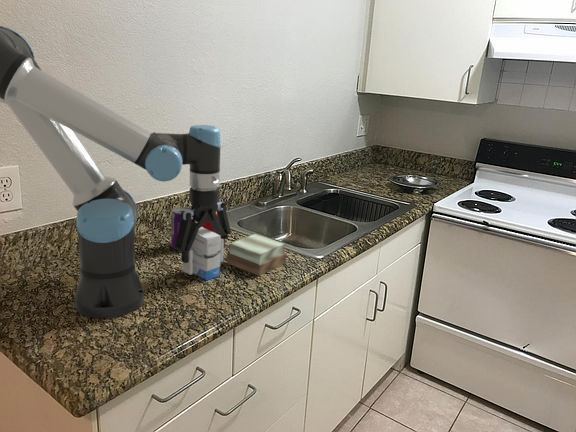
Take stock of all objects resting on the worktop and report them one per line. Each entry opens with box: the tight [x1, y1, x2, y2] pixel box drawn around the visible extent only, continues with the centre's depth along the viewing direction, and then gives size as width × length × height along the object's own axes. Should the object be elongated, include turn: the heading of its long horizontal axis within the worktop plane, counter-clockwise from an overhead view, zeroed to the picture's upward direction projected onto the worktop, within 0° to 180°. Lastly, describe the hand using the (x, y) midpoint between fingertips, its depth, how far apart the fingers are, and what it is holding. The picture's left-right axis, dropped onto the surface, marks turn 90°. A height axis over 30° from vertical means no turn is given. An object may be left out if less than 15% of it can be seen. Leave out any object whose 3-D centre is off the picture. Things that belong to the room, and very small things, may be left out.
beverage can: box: [170, 206, 191, 252], centre depth 144 cm, size 7×7×12 cm
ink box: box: [190, 227, 221, 281], centre depth 129 cm, size 8×5×12 cm, turn 47°
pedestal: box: [226, 233, 287, 277], centre depth 138 cm, size 12×12×6 cm
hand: (203, 266), depth 130 cm, fingers open, 11 cm apart
